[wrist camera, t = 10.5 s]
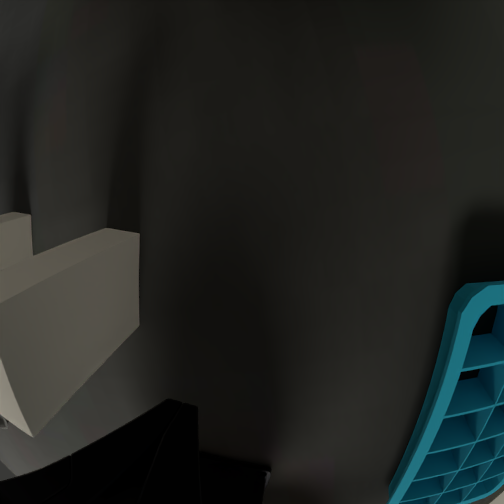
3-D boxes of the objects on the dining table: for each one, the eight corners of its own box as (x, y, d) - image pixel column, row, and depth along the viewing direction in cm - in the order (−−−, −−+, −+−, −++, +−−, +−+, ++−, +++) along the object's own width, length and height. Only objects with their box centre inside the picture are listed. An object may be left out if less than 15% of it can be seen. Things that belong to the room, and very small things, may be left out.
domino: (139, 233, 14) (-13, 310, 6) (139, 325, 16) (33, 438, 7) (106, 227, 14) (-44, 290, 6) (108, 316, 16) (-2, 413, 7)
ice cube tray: (575, 258, 11) (604, 272, 8) (486, 470, 16) (495, 493, 13) (438, 264, 13) (466, 287, 10) (372, 497, 18) (375, 525, 15)
